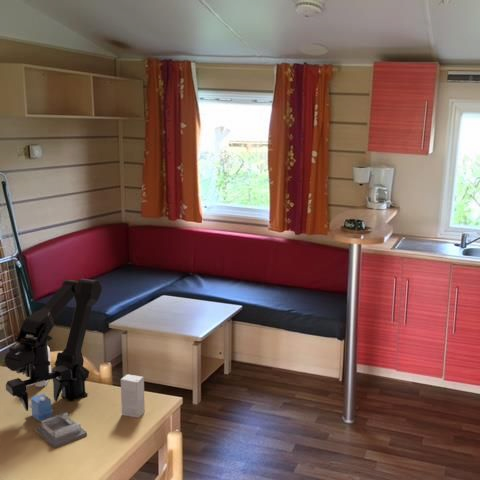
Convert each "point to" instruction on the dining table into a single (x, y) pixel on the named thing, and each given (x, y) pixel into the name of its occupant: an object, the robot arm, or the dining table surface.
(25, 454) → the dining table surface
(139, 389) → the skincare box
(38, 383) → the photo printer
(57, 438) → the grey shallow tray
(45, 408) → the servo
